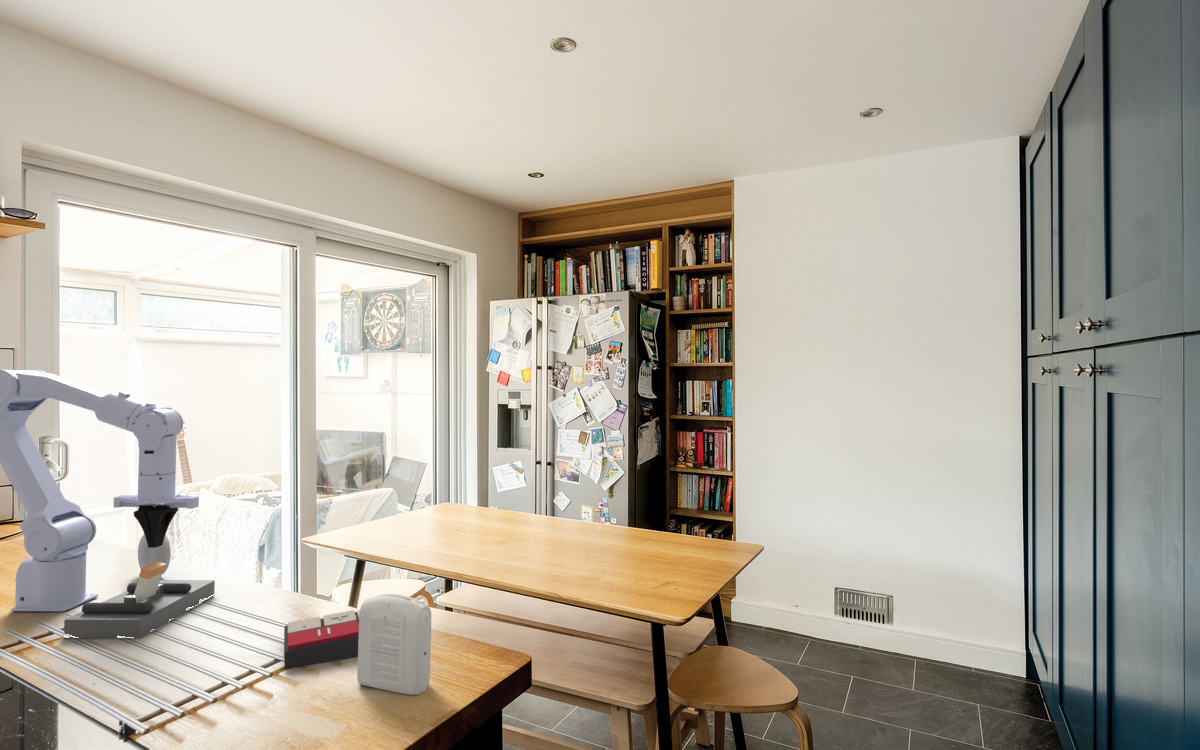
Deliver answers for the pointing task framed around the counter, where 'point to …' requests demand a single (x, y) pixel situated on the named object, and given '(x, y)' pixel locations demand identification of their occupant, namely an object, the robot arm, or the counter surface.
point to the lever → (149, 580)
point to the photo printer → (394, 644)
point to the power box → (137, 610)
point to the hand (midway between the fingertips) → (155, 546)
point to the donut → (153, 553)
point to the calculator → (321, 639)
